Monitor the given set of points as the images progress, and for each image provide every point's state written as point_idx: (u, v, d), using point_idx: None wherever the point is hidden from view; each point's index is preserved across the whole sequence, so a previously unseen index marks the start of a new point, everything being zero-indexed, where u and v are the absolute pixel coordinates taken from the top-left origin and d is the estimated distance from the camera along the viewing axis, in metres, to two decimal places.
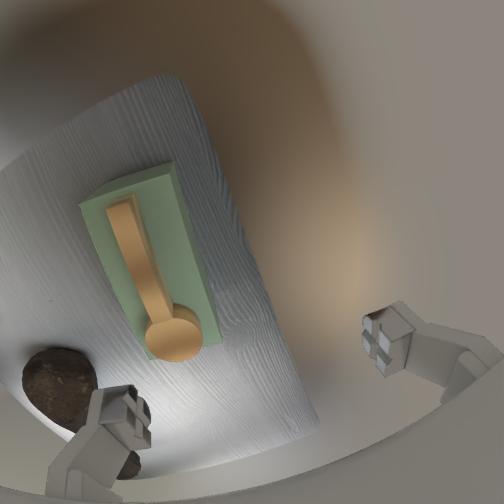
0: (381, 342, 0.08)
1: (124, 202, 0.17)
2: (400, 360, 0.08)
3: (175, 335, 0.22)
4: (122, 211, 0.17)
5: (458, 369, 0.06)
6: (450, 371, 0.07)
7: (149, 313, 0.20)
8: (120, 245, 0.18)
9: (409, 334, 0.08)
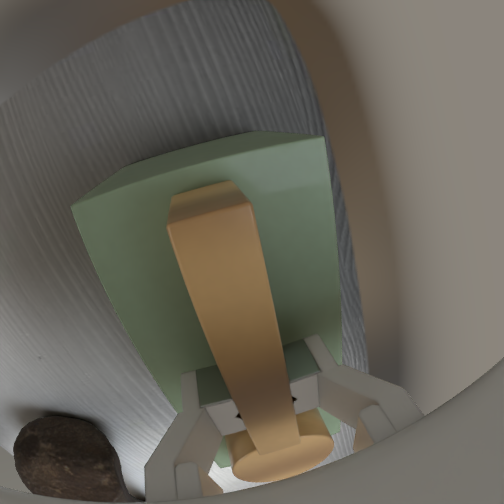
0: None
1: (234, 204, 0.05)
2: (310, 399, 0.08)
3: (291, 456, 0.10)
4: (226, 234, 0.05)
5: (360, 425, 0.06)
6: None
7: (258, 444, 0.09)
8: (210, 334, 0.06)
9: (314, 375, 0.08)
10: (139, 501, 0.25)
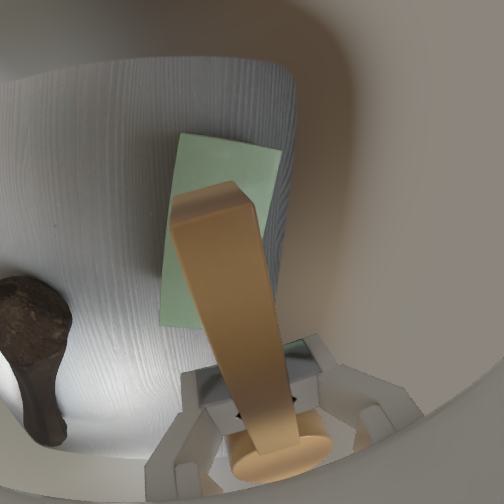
0: None
1: (237, 205, 0.05)
2: (310, 399, 0.08)
3: (290, 456, 0.10)
4: (229, 235, 0.05)
5: (360, 425, 0.06)
6: None
7: (257, 445, 0.09)
8: (211, 334, 0.06)
9: (314, 375, 0.08)
10: None
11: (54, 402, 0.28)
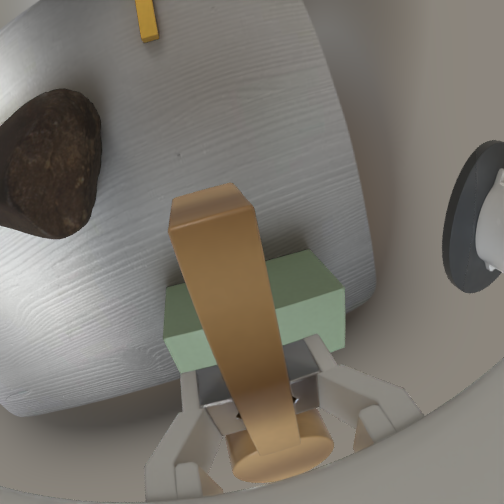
0: None
1: (236, 207, 0.05)
2: (310, 399, 0.08)
3: (291, 457, 0.10)
4: (227, 238, 0.05)
5: (360, 425, 0.06)
6: None
7: (258, 445, 0.09)
8: (211, 336, 0.06)
9: (314, 375, 0.08)
10: None
11: None
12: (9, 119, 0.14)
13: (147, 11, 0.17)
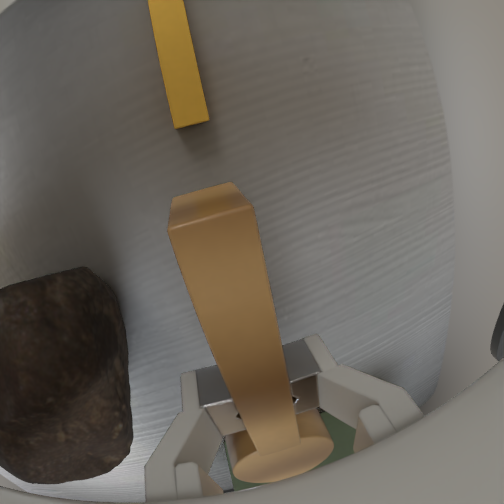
0: None
1: (235, 206, 0.05)
2: (310, 399, 0.08)
3: (291, 457, 0.10)
4: (227, 237, 0.05)
5: (360, 425, 0.06)
6: None
7: (258, 446, 0.09)
8: (210, 336, 0.06)
9: (314, 375, 0.07)
10: None
11: None
12: None
13: (183, 62, 0.09)
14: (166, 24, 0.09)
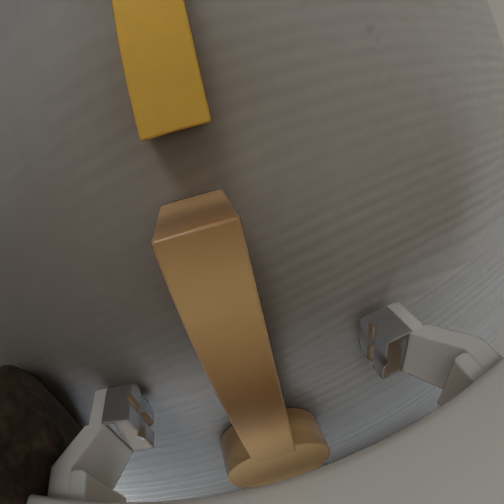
0: (378, 343, 0.08)
1: (221, 218, 0.05)
2: (397, 361, 0.08)
3: (286, 463, 0.10)
4: (214, 250, 0.05)
5: (455, 371, 0.06)
6: (448, 373, 0.07)
7: (252, 453, 0.08)
8: (199, 349, 0.06)
9: (406, 335, 0.08)
10: None
11: None
12: None
13: (158, 10, 0.04)
14: None
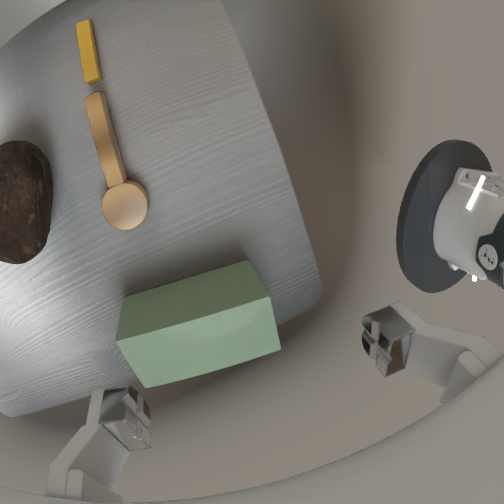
0: (381, 342, 0.08)
1: (96, 92, 0.21)
2: (400, 360, 0.08)
3: (125, 201, 0.26)
4: (94, 98, 0.21)
5: (458, 369, 0.06)
6: (451, 371, 0.07)
7: (106, 177, 0.24)
8: (90, 122, 0.22)
9: (409, 334, 0.08)
10: None
11: None
12: None
13: (89, 56, 0.20)
14: (83, 41, 0.19)
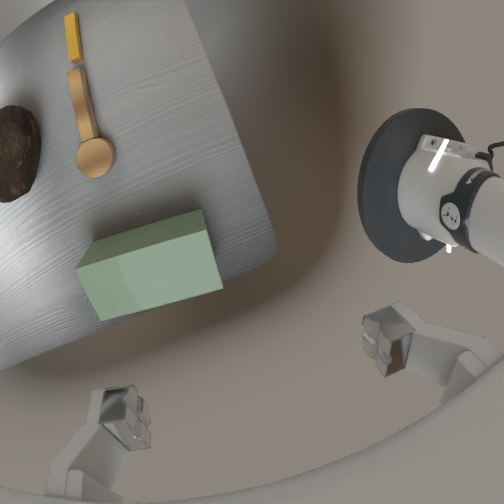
0: (381, 342, 0.08)
1: (77, 68, 0.24)
2: (400, 360, 0.08)
3: (95, 153, 0.29)
4: (75, 72, 0.24)
5: (458, 369, 0.06)
6: (451, 371, 0.07)
7: (80, 133, 0.27)
8: (71, 90, 0.25)
9: (409, 334, 0.08)
10: None
11: None
12: None
13: (73, 41, 0.23)
14: (69, 29, 0.22)
